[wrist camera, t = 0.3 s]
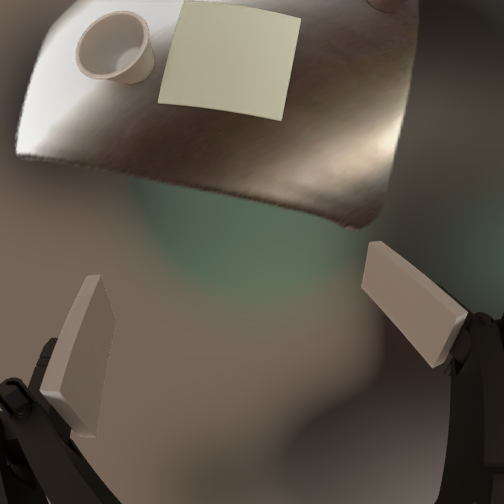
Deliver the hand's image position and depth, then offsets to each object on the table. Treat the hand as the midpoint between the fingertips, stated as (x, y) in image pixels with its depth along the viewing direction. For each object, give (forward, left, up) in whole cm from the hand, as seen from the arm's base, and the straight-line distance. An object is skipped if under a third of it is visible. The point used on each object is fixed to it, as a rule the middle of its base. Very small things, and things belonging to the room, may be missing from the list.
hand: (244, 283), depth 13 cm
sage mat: (-19, -3, -26) cm, 32 cm away
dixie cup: (-16, -15, -26) cm, 34 cm away
